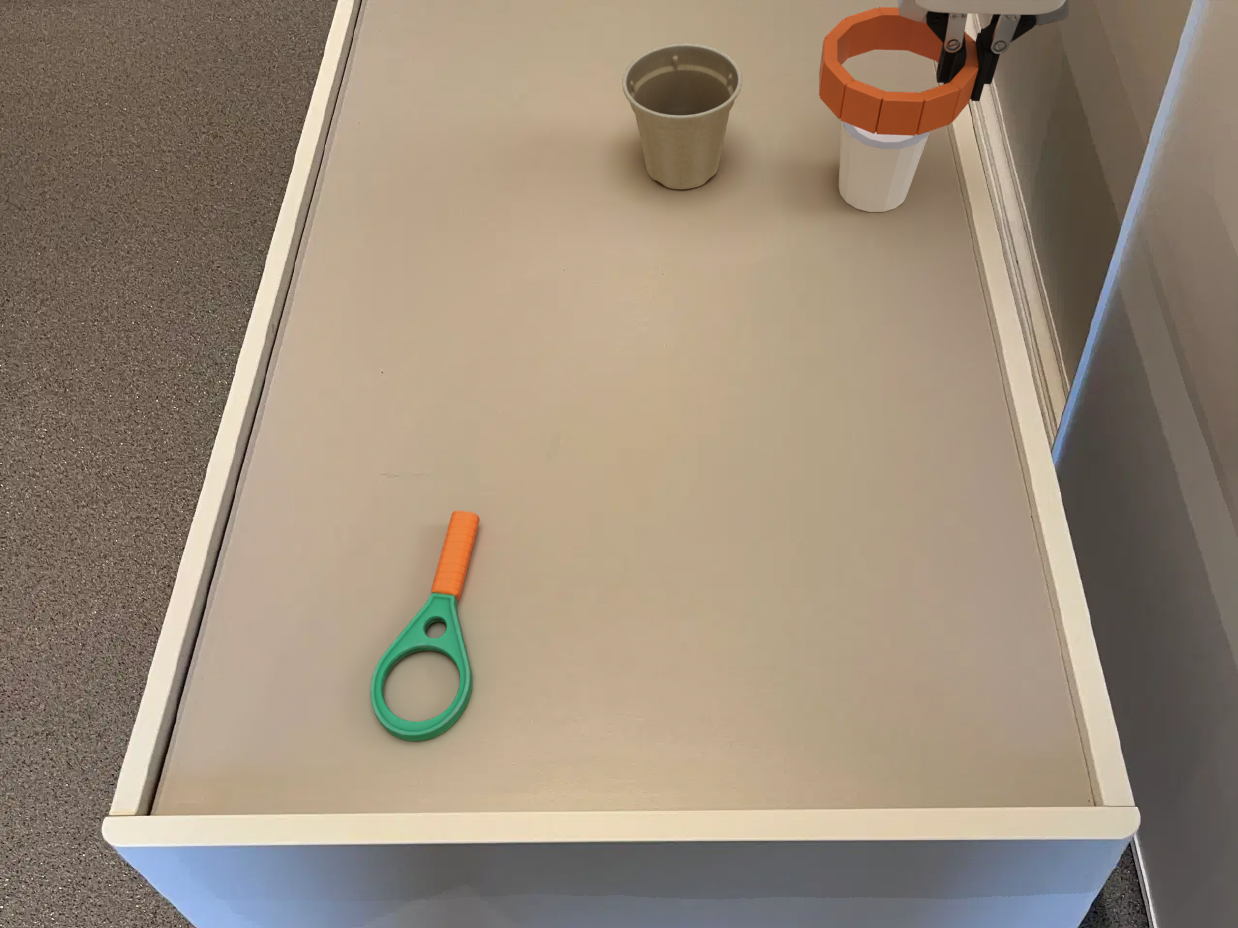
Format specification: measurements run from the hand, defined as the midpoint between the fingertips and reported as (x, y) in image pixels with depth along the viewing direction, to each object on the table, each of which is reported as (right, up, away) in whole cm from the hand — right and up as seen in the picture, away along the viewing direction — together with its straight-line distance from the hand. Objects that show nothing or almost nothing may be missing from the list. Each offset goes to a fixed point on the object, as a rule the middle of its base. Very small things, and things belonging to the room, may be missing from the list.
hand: (960, 88), depth 78 cm
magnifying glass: (-37, -38, -12) cm, 54 cm away
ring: (-5, 0, +1) cm, 5 cm away
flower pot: (-20, -3, +11) cm, 23 cm away
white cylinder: (-4, -5, +9) cm, 11 cm away
